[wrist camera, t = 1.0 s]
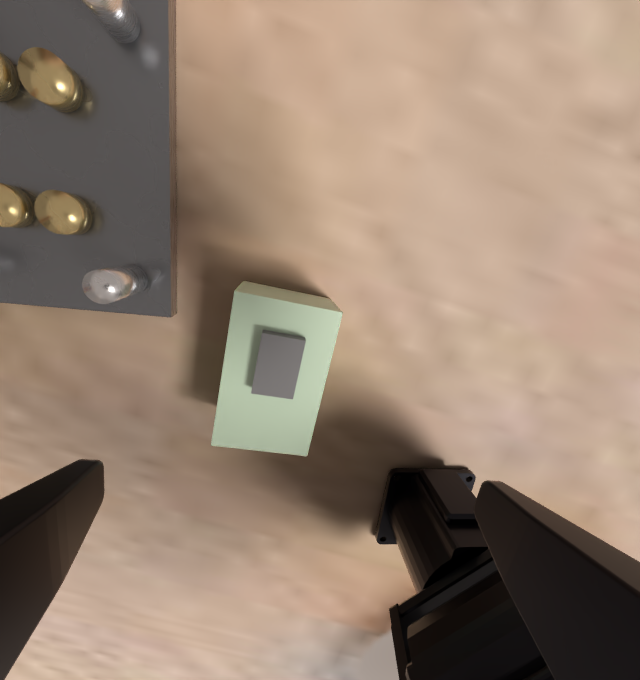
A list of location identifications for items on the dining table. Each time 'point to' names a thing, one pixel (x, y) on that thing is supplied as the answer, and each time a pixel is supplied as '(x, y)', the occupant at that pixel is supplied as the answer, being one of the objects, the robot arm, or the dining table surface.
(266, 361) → the pale green block
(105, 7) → the chassis
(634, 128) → the dining table surface
